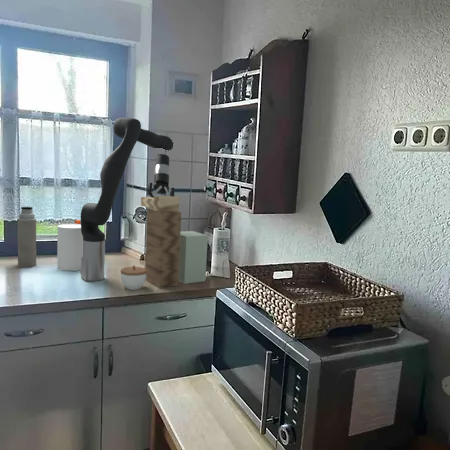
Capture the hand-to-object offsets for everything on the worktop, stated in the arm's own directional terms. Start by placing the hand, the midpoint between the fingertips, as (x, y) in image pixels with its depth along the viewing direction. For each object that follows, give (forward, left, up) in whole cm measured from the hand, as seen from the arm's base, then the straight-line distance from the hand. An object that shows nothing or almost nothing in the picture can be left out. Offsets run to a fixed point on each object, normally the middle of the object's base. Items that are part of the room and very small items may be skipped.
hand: (160, 205), depth 225 cm
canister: (-40, +12, -31) cm, 52 cm away
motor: (-32, +28, -31) cm, 52 cm away
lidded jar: (-28, -32, -31) cm, 52 cm away
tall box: (-14, -30, -31) cm, 45 cm away
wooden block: (-14, -23, +1) cm, 27 cm away
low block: (0, -29, -31) cm, 42 cm away
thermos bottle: (-58, +23, -31) cm, 69 cm away
